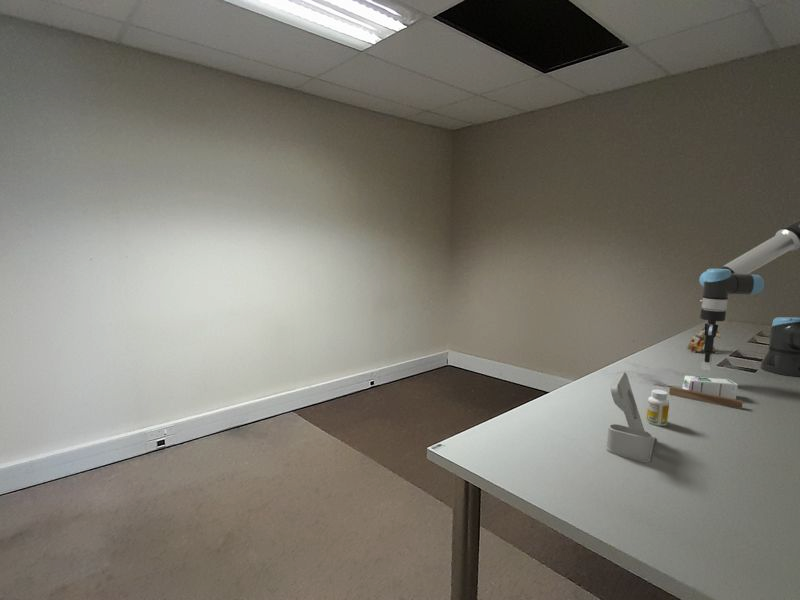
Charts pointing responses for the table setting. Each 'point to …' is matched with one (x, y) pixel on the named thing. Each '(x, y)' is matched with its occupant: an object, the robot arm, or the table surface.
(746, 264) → the robot arm
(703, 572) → the table surface
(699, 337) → the voxel character
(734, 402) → the walnut stop rail
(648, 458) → the phone holder
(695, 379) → the syrup box
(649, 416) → the supplement bottle
